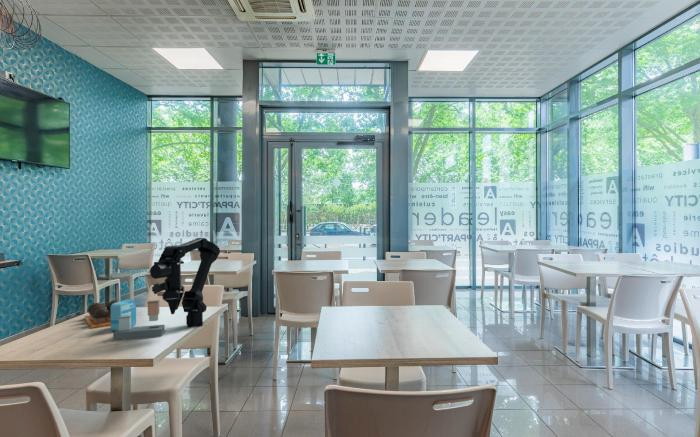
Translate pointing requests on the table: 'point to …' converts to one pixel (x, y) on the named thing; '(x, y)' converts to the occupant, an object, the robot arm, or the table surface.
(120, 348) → the table surface
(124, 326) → the grey plug
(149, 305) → the brown rectangular block
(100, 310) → the chocolates on board
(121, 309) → the data package
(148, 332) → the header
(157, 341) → the table surface
